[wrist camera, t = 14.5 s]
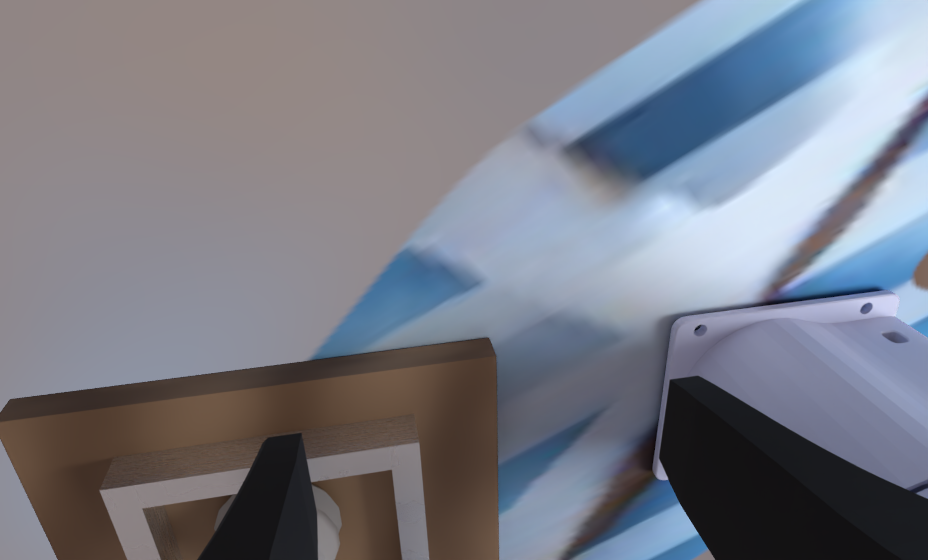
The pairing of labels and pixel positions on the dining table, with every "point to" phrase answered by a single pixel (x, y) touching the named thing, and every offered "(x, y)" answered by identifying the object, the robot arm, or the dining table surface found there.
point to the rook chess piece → (326, 523)
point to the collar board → (239, 440)
